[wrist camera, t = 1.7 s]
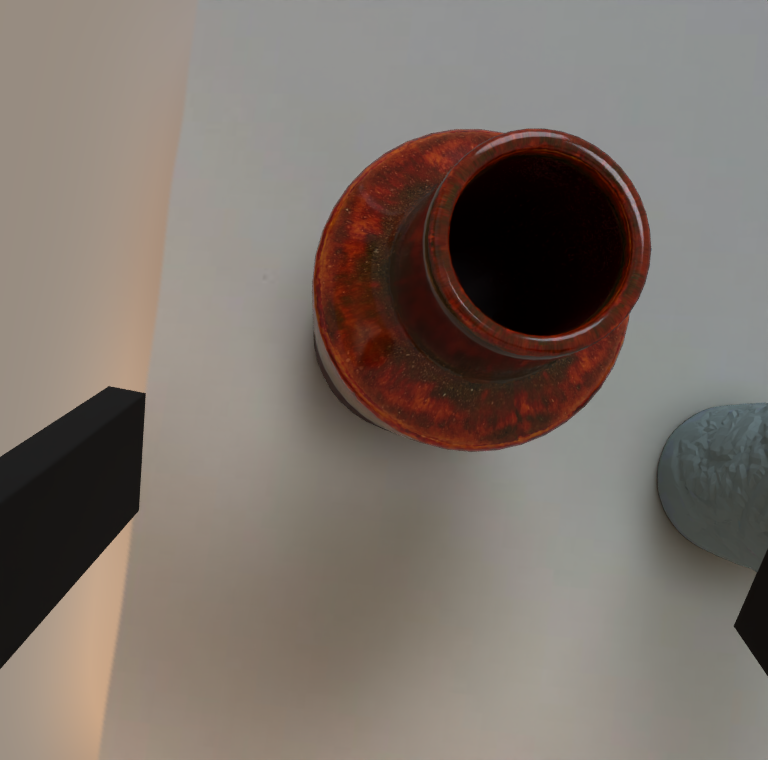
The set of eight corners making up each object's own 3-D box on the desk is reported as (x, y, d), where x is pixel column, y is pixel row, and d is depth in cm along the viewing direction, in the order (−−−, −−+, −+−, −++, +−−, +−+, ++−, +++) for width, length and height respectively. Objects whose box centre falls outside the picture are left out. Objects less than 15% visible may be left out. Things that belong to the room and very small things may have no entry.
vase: (494, 233, 35) (733, 4, 15) (514, 422, 35) (784, 448, 15) (304, 246, 34) (287, 18, 14) (323, 442, 34) (333, 500, 14)
